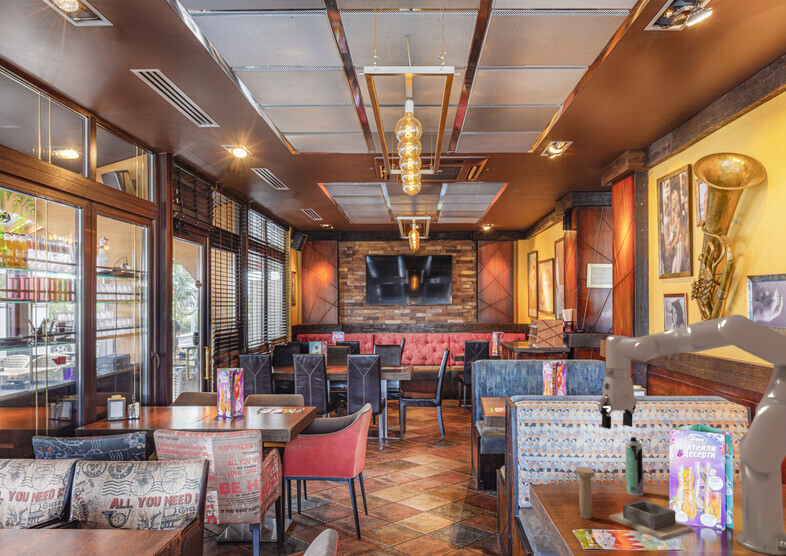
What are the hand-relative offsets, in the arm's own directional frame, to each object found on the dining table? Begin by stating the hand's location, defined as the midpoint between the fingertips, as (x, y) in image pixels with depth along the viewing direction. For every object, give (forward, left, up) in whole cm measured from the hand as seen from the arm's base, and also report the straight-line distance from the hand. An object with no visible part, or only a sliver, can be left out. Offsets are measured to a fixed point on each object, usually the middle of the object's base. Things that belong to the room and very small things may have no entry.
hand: (617, 426), depth 173 cm
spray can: (+12, -24, -29) cm, 39 cm away
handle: (+4, +10, -29) cm, 31 cm away
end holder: (-9, -3, -28) cm, 30 cm away
